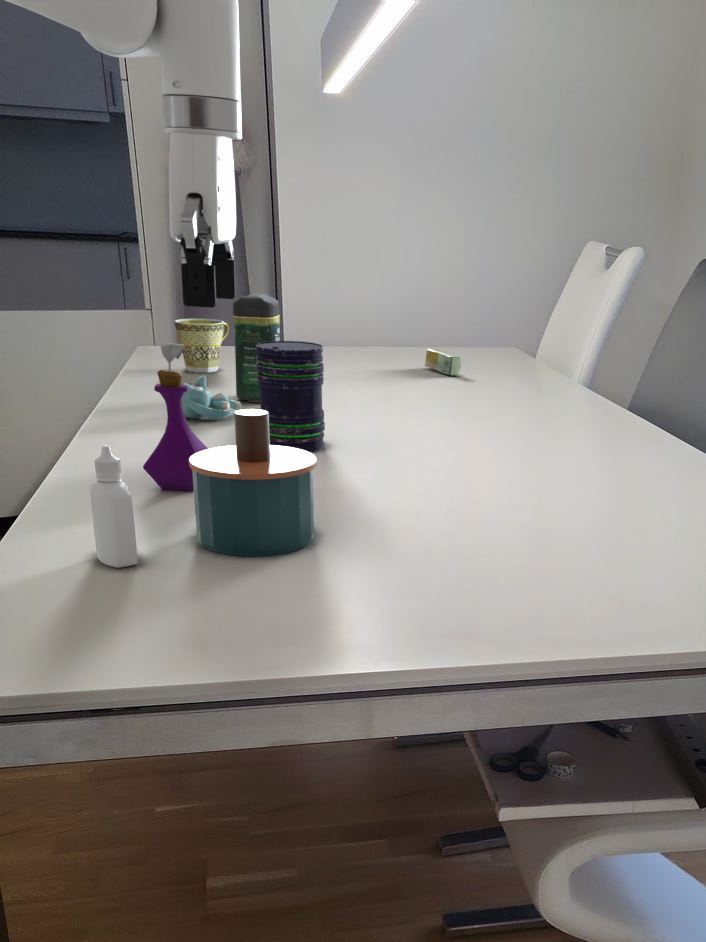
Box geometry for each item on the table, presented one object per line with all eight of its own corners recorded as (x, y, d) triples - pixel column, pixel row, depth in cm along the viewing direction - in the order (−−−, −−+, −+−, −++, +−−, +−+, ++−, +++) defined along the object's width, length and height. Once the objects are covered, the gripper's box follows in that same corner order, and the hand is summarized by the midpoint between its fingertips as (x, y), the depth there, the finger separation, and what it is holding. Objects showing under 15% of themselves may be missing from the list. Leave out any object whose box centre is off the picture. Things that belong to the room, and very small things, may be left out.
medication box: (460, 376, 225) (463, 357, 224) (449, 375, 224) (452, 356, 223) (434, 366, 235) (436, 348, 233) (423, 366, 233) (425, 347, 232)
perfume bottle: (203, 495, 131) (193, 349, 124) (144, 492, 131) (131, 346, 124) (218, 480, 138) (209, 341, 131) (162, 477, 138) (150, 338, 131)
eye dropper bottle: (142, 551, 110) (131, 439, 105) (136, 568, 105) (125, 452, 100) (98, 552, 109) (86, 439, 104) (91, 570, 104) (78, 452, 99)
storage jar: (292, 436, 164) (289, 339, 158) (338, 446, 159) (337, 346, 153) (245, 446, 157) (240, 344, 151) (292, 456, 151) (289, 352, 146)
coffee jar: (276, 404, 188) (272, 297, 180) (232, 402, 188) (227, 295, 180) (286, 394, 197) (282, 292, 189) (244, 393, 197) (239, 290, 189)
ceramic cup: (201, 375, 212) (198, 325, 208) (167, 369, 217) (164, 320, 213) (246, 369, 222) (244, 320, 218) (213, 363, 227) (211, 316, 223)
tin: (186, 555, 110) (181, 476, 106) (211, 520, 121) (206, 448, 118) (306, 558, 110) (304, 480, 107) (319, 523, 122) (317, 452, 118)
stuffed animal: (257, 385, 174) (191, 377, 165) (251, 428, 176) (186, 421, 167) (226, 376, 181) (161, 367, 173) (221, 417, 183) (157, 410, 175)
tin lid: (176, 483, 106) (171, 423, 104) (204, 452, 118) (200, 398, 116) (309, 487, 107) (308, 427, 104) (323, 456, 119) (322, 402, 117)
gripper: (185, 124, 110) (194, 293, 116) (139, 111, 94) (152, 308, 100) (257, 128, 110) (261, 297, 117) (222, 116, 94) (230, 312, 101)
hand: (210, 302), depth 108 cm, fingers open, 9 cm apart
